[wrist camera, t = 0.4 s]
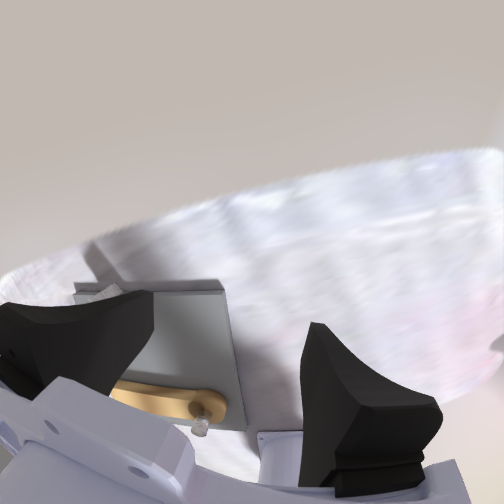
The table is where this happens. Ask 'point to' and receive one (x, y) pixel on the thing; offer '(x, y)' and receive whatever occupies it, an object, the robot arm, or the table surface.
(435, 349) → the table surface
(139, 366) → the base plate
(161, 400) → the link
